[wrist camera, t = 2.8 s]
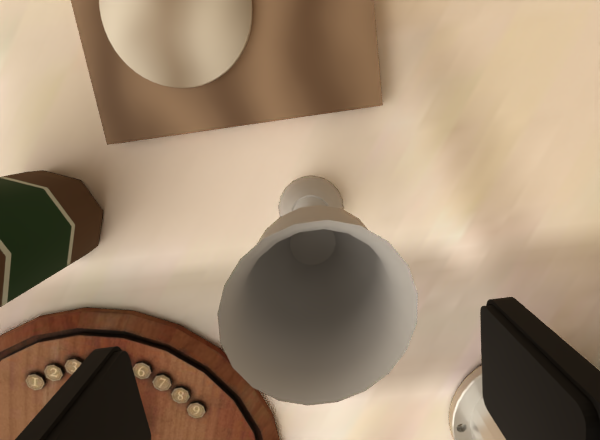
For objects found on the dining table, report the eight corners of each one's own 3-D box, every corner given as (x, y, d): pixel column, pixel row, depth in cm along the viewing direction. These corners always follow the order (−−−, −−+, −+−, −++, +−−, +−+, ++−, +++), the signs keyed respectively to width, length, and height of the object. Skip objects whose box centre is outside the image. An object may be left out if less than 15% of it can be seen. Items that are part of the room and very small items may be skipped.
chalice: (313, 267, 33) (322, 437, 15) (248, 215, 32) (177, 333, 14) (374, 200, 31) (461, 302, 14) (307, 143, 30) (310, 176, 13)
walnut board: (359, -115, 26) (364, -135, 24) (378, 105, 29) (384, 104, 27) (65, -65, 27) (45, -80, 25) (116, 143, 30) (103, 145, 28)
